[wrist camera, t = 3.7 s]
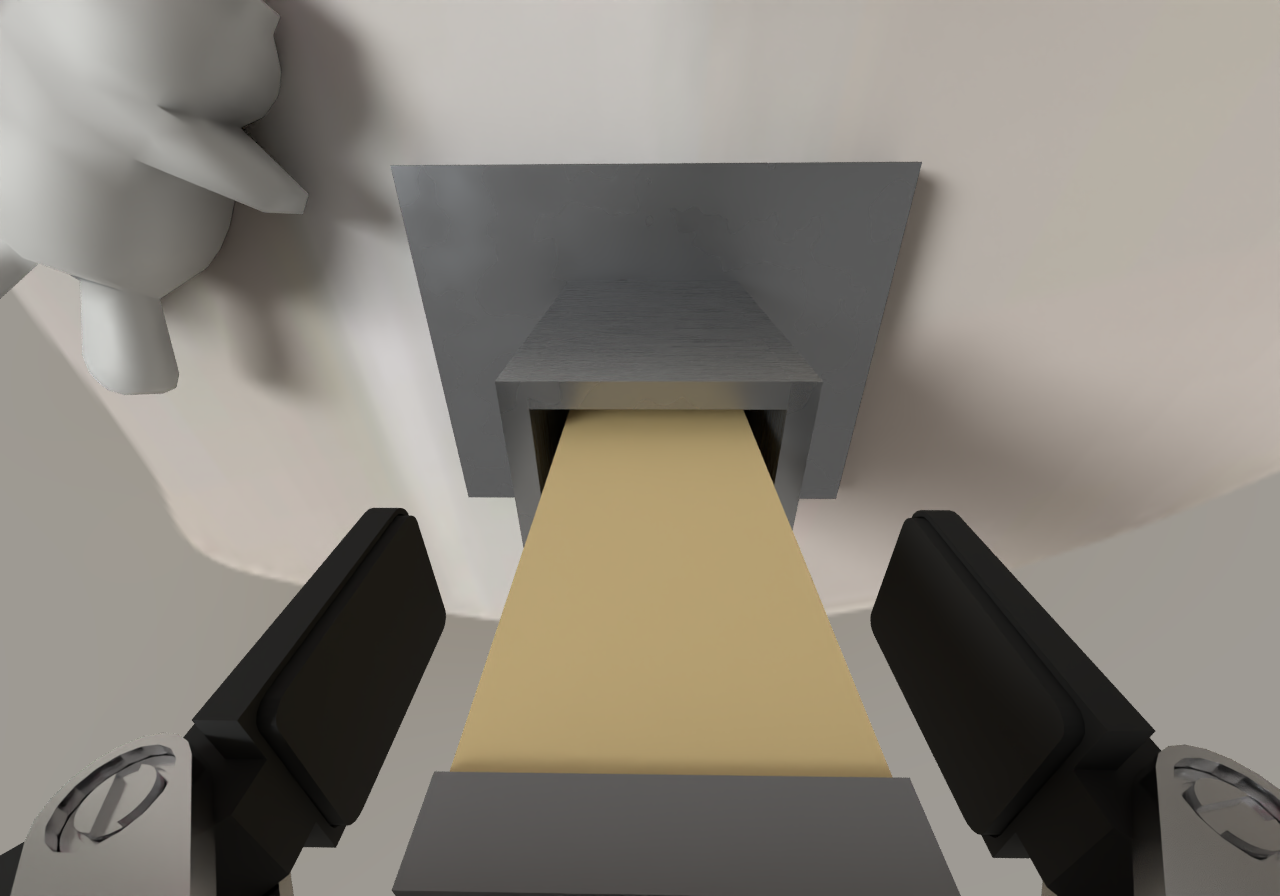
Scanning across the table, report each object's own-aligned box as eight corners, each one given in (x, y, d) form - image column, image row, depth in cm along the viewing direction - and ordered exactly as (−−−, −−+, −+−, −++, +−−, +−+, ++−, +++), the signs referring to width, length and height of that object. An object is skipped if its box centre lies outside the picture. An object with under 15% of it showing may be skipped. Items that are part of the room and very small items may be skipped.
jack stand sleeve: (900, 162, 17) (1324, 142, 6) (825, 480, 24) (966, 723, 13) (411, 166, 17) (28, 152, 7) (478, 478, 24) (346, 716, 14)
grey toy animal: (310, 59, 13) (120, 443, 17) (389, 104, 17) (224, 397, 22) (-137, -329, 10) (-234, 258, 14) (103, -150, 14) (-24, 250, 18)
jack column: (707, 312, 18) (962, 900, 3) (700, 415, 20) (837, 1035, 6) (598, 312, 18) (390, 891, 3) (603, 415, 20) (490, 1029, 6)
